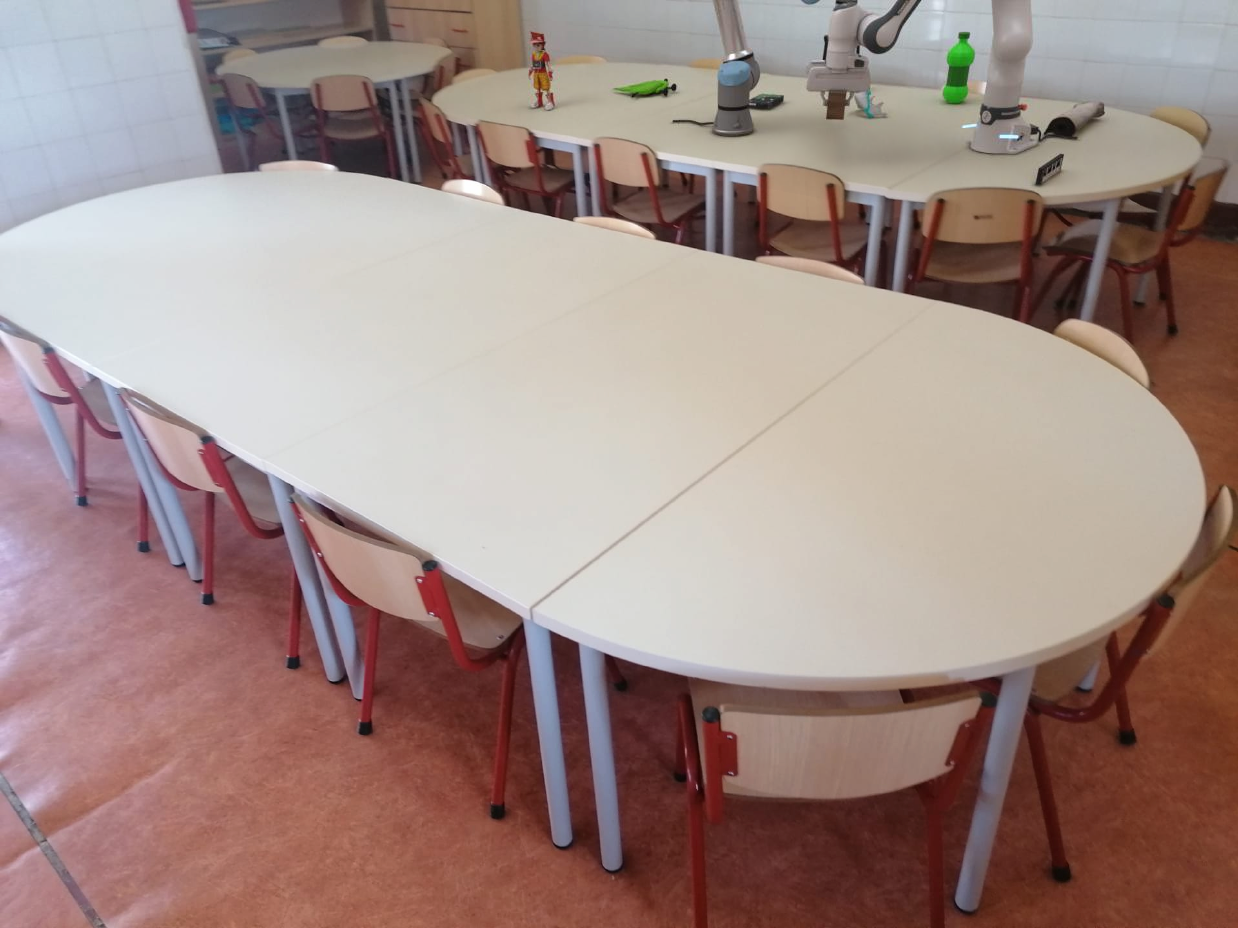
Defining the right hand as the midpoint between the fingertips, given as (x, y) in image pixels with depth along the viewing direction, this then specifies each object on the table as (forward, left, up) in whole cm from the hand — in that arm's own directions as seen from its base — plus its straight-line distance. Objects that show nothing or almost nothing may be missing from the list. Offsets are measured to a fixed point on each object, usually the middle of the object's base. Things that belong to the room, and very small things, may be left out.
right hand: (836, 105), depth 292 cm
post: (-14, -16, -4) cm, 22 cm away
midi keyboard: (-37, +56, -17) cm, 70 cm away
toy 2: (-2, -130, -17) cm, 131 cm away
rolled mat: (-89, +25, -17) cm, 94 cm away
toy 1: (+44, -134, -17) cm, 142 cm away
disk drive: (-28, -74, -17) cm, 81 cm away
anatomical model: (-49, -37, -17) cm, 64 cm away
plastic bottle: (-86, -28, -17) cm, 92 cm away
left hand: (-29, -32, -3) cm, 43 cm away
